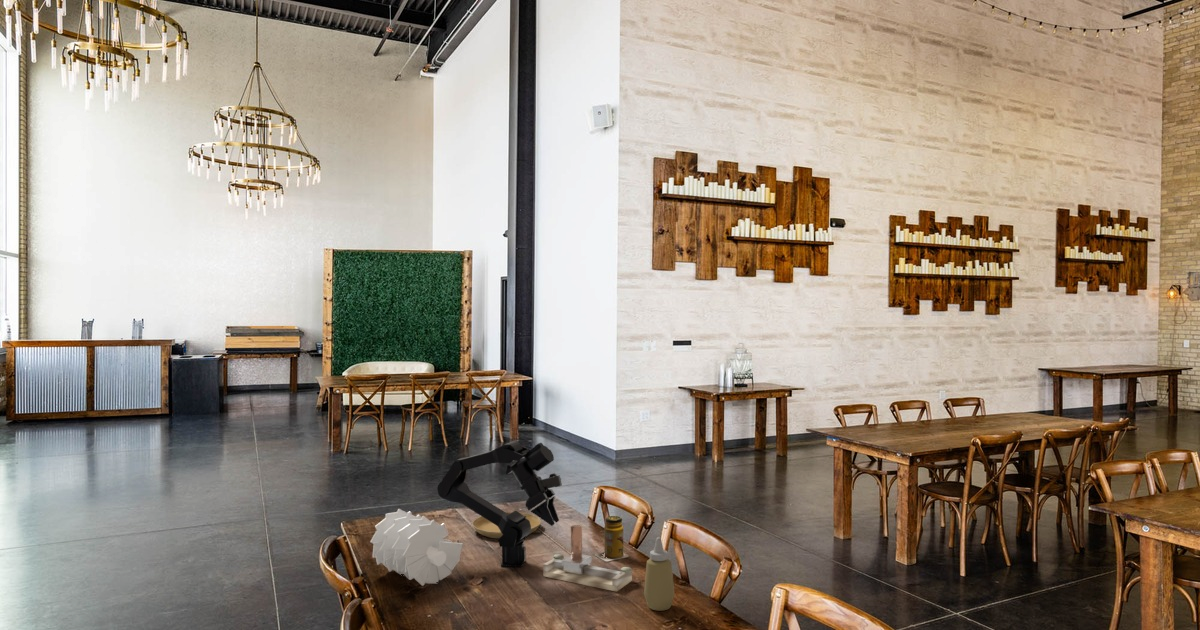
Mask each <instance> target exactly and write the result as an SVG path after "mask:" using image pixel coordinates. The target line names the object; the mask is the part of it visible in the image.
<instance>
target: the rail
mask: <svg viewBox="0 0 1200 630" xmlns="http://www.w3.org/2000/svg"><path fill="white" fill-rule="evenodd" d="M563 559H565V555H563V554H561V553H559V554H557V553H556V554H553V557H552V559H550V560H548V561H547V562H544V563H543V564H542V565H543V566H542V568H543V572H542V573H543V575H542V576H543V577H545V578H546V577H547V578H550V579H556V580H559V581H560V580H561V581H565V582H569V583H573V584H577V585H578V584H579V585H583V586H588V587H593V588H599V589H603V590H607V591H612V592H619V591H620V590H621V589H622V588H624V587H626V585H628V584H630V583H631V582H632V581H633V574H632V573H633V569H632V568H631V567H629V566H623V567H621V568H620V570H615V569H610V568H606V567H605V568H603V567H600V566H594V565H591V564H590V565H585V566H583V574H582V575H580V574H575V573H570V572H565V571H564V566H562V560H563Z"/></svg>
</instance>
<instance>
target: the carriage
mask: <svg viewBox="0 0 1200 630" xmlns="http://www.w3.org/2000/svg"><path fill="white" fill-rule="evenodd" d="M592 560H593V558H592V555H587V554H583V526H582V525H579V524H575V525H572V526H570V555H568V556H566V557H564V559H563V560H562V566H564V571H565V572H570V573H575V574H580V575H582V574H583V566H585V565H590V566H591V563H592Z"/></svg>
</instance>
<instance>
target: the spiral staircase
mask: <svg viewBox="0 0 1200 630" xmlns="http://www.w3.org/2000/svg"><path fill="white" fill-rule="evenodd" d="M384 515H385V517H384V518H383V519H382V520H381V521H380V522H378V523H377V524H376V525H374V527H375V532H374V534H373V536H372V537H371V539H370V541H369V543H371V544H372V545H373V546H372V555H371V556H372V558H373V559H374V558H375V560H376V561H375V562H376V565H378V566H379V565H380V564H382V565H383V566H385V567H386V568H387V570H388V572H392V571H395V573H397V574H399V575H401V574H404V575H403V576H404V577H406V579H408V580H410V581H411V580H413V579H414V580H415V581H416V582H418V584H419V585H421V587H424V585H425V584H437V583H436V582H438V583H439V581H442V580H443V579H445V578H447V577H448V576H450V575H452V574H453V573H452V571H453V570H454V568H455V567H456V566H457V564H458V563H459V561H460V560H461V557H460V556H461V553H462V549H463V545H464V543H463V542H452V540H450V539H447V536H448V535H449V532H448V529H447V527H446V524H445V523H444V522H443V523H441V524H440V523H438V522H437V521H435V519H432V520H430V519H429V518H427V517H425V516H424V515H422V516H421V515H420V514H419V513H418V514H417V515H416V516H415V515H413V514H412V512H411V511H410V510H409V511H405V510H403V509H401V508H398V509H397V511H396V512H388V513H385V514H384ZM445 537H446V539H445ZM401 576H402V575H401Z"/></svg>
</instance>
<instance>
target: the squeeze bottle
mask: <svg viewBox="0 0 1200 630" xmlns="http://www.w3.org/2000/svg"><path fill="white" fill-rule="evenodd" d="M655 539H656V540H655V543H654V548H653V549H652V550H651V551H649V559H648V560H646V566H645V578H644V589H643V590H644V591H643V595H644V597H645V602H646V603H647V607H648V608H649V609H651V610H654V611H658V612H659V611H661V612H662V611H666V610H669V609H670V608H671V607H672V603H673V601H674V597H675V586H674V575H673V567H672V561H671V560H670V559H669V558H668V557H669V556H668V551H667V550H666V549H664V546H663V542H662V541H663V540H662V538H661V537H656V538H655Z"/></svg>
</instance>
